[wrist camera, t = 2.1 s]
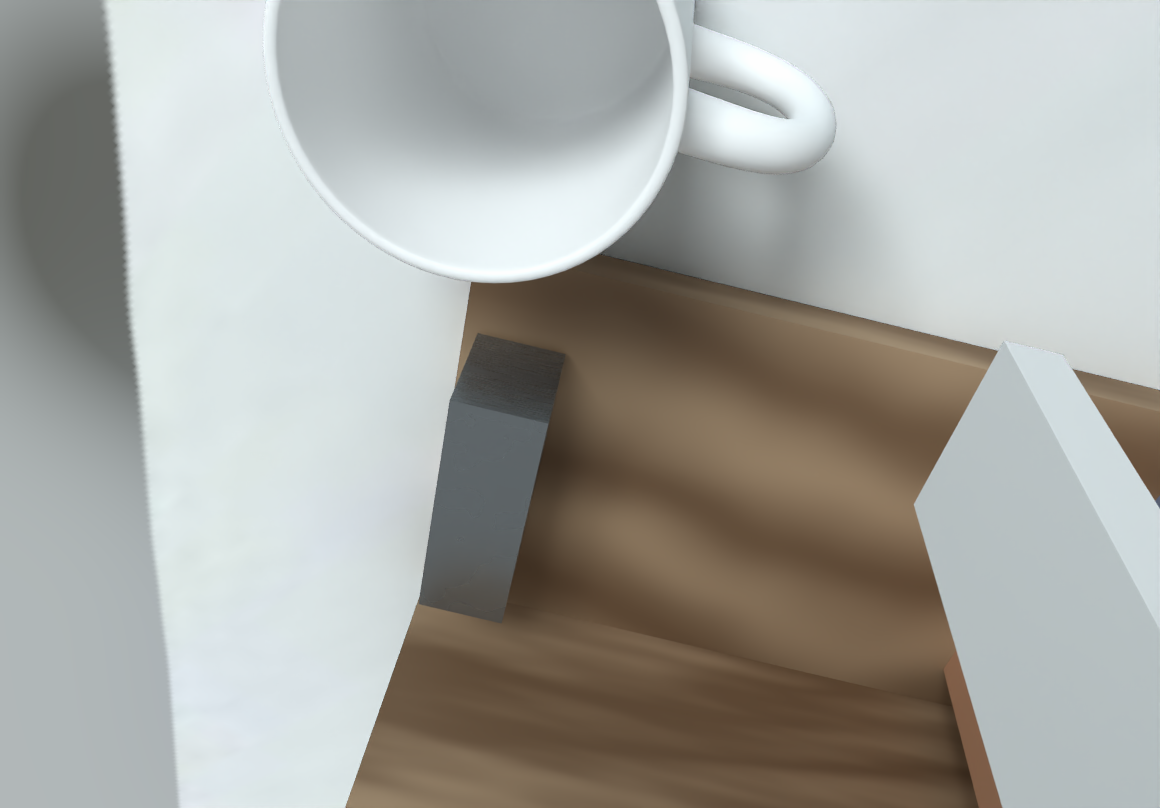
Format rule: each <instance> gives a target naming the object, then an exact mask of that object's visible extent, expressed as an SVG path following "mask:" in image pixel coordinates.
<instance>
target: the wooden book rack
mask: <svg viewBox="0 0 1160 808" xmlns="http://www.w3.org/2000/svg"><path fill="white" fill-rule="evenodd" d="M478 333H480V334H484V335H488V336H492V337H497V338H501V339H505V340H509V341H513V342H517V343H522V344H526V345H530V346H534V347H538V348H542V349H547V350H551V351H555V352H559V353H563V354H566V355H565V359H564V364H563V368H562V372H561V376H560V381H559V385H558V389H557V393H556V398H555V402H554V406H553V411H552V415H551V419H550V423H549V428H548V432H547V436H546V440H545V445H544V449H543V453H542V457H541V462H540V466H539V470H538V474H537V479H536V483H535V487H534V491H533V496H532V500H531V504H530V508H529V513H528V517H527V521H526V526H525V530H524V534H523V538H522V543H521V547H520V551H519V555H518V559H517V563H516V567H515V571H514V575H513V579H512V583H511V588H510V592H509V596H508V600H507V604H506V608H505V612H504V616H503V620H502V624H501V623H497V622H493V621H489V620H484V619H480V618H476V617H471V616H467V615H463V614H459V613H454V612H450V611H446V610H441V609H437V608H433V607H429V606H424V605H420V604H419V600H418V603H417V605H416V608H415V611H414V614H413V617H412V620H411V622H410V625H409V628H408V631H407V634H406V637H405V639H404V642H403V645H402V648H401V651H400V654H399V656H398V659H397V662H396V665H395V668H394V671H393V673H392V676H391V679H390V682H389V685H388V688H387V691H386V693H385V696H384V699H383V702H382V705H381V708H380V710H379V713H378V716H377V719H376V722H375V725H374V727H373V730H372V733H371V736H370V739H369V742H368V744H367V747H366V750H365V753H364V756H363V759H362V761H361V764H360V767H359V770H358V773H357V776H356V778H355V781H354V784H353V787H352V790H351V793H350V796H349V798H348V801H347V804H346V808H979V806H978V802H977V798H976V794H975V791H974V787H973V783H972V779H971V775H970V771H969V767H968V763H967V759H966V756H965V752H964V748H963V744H962V740H961V736H960V732H959V728H958V725H957V721H956V717H955V713H954V709H953V705H952V701H951V697H950V693H949V690H948V686H947V682H946V678H945V674H944V670H943V669H944V668H945V666H946V665H947V663H948V662H949V660H950V659H951V657H952V656H953V654H954V653H955V651H956V647H955V644H954V640H953V637H952V634H951V630H950V627H949V623H948V620H947V616H946V613H945V610H944V606H943V603H942V599H941V596H940V593H939V589H938V586H937V582H936V579H935V575H934V572H933V569H932V565H931V562H930V558H929V555H928V551H927V548H926V545H925V541H924V538H923V534H922V531H921V528H920V524H919V521H918V517H917V514H916V510H915V507H914V503H915V501H916V499H917V497H918V496H919V494H920V492H921V490H922V488H923V487H924V485H925V483H926V481H927V479H928V478H929V476H930V474H931V472H932V470H933V468H934V467H935V465H936V463H937V461H938V459H939V458H940V456H941V454H942V452H943V450H944V448H945V447H946V445H947V443H948V441H949V439H950V438H951V436H952V434H953V432H954V430H955V428H956V427H957V425H958V423H959V421H960V419H961V418H962V416H963V414H964V412H965V410H966V409H967V407H968V405H969V403H970V401H971V399H972V398H973V396H974V394H975V392H976V390H977V389H978V387H979V385H980V383H981V381H982V379H983V378H984V376H985V374H986V372H987V370H988V369H989V367H990V365H991V363H992V361H993V360H994V358H995V356H996V354H997V352H998V351H996V350H992V349H987V348H983V347H979V346H975V345H971V344H967V343H963V342H959V341H954V340H950V339H946V338H942V337H938V336H934V335H930V334H926V333H921V332H917V331H913V330H909V329H905V328H901V327H897V326H893V325H889V324H884V323H880V322H876V321H872V320H868V319H864V318H860V317H856V316H851V315H847V314H843V313H839V312H835V311H831V310H827V309H823V308H818V307H814V306H810V305H806V304H802V303H798V302H794V301H790V300H785V299H781V298H777V297H773V296H769V295H765V294H761V293H757V292H753V291H748V290H744V289H740V288H736V287H732V286H728V285H724V284H720V283H715V282H711V281H707V280H703V279H699V278H695V277H691V276H687V275H682V274H678V273H674V272H670V271H666V270H662V269H658V268H654V267H650V266H645V265H641V264H637V263H633V262H629V261H625V260H621V259H617V258H612V257H608V256H604V255H600V254H598V255H596V256H594V257H593V258H591V259H589V260H587V261H585V262H584V263H582V264H580V265H577V266H575V267H573V268H570V269H568V270H566V271H563V272H560V273H557V274H554V275H551V276H547V277H543V278H538V279H534V280H529V281H521V282H513V283H480V282H471V287H470V293H469V300H468V306H467V313H466V319H465V325H464V332H463V338H462V345H461V351H460V358H459V364H458V370H457V377H456V383H455V387H456V384H457V382H458V379H459V377H460V375H461V372H462V370H463V367H464V365H465V363H466V360H467V358H468V355H469V353H470V350H471V348H472V346H473V343H474V341H475V338H476V336H477V334H478ZM1072 370H1073V371H1074V373H1075V374H1076V376H1077V378H1078V379H1079V381H1080V382H1081V384H1082V386H1083V387H1084V389H1085V390H1086V392H1087V394H1088V395H1089V397H1090V398H1091V400H1092V401H1093V403H1094V405H1095V406H1096V408H1097V409H1098V411H1099V413H1100V414H1101V416H1102V417H1103V419H1104V421H1105V422H1106V424H1107V425H1108V427H1109V429H1110V430H1111V432H1112V433H1113V435H1114V437H1115V438H1116V440H1117V441H1118V443H1119V445H1120V446H1121V448H1122V449H1123V451H1124V452H1125V454H1126V456H1127V457H1128V459H1129V460H1130V462H1131V464H1132V465H1133V467H1134V468H1135V470H1136V472H1137V473H1138V475H1139V476H1140V478H1141V480H1142V481H1143V483H1144V484H1145V486H1146V488H1147V489H1148V491H1149V492H1150V494H1151V496H1152V497H1153V499H1154V500H1155V501H1156V500H1157V498H1158V497H1159V496H1160V390H1156V389H1152V388H1148V387H1144V386H1140V385H1136V384H1132V383H1127V382H1123V381H1119V380H1115V379H1111V378H1107V377H1103V376H1099V375H1095V374H1090V373H1086V372H1082V371H1078V370H1074V369H1072ZM419 598H420V597H419Z"/></svg>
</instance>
